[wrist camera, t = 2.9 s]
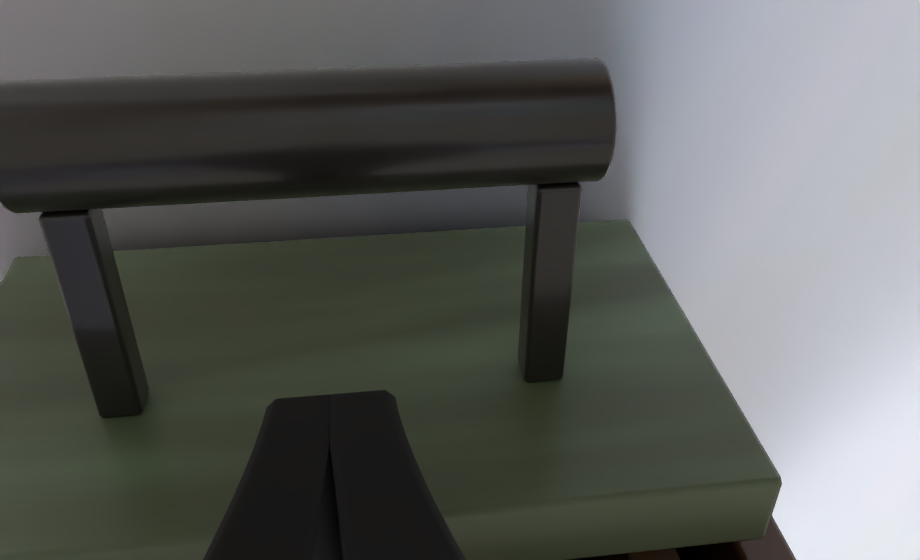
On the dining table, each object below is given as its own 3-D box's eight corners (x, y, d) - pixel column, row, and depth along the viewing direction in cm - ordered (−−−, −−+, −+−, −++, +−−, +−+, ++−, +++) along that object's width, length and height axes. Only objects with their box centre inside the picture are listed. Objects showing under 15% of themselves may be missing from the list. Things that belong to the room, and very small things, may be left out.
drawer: (-79, -16, 13) (-396, 211, 7) (665, -36, 14) (895, 143, 8) (157, 678, 23) (105, 994, 17) (572, 629, 24) (647, 908, 19)
